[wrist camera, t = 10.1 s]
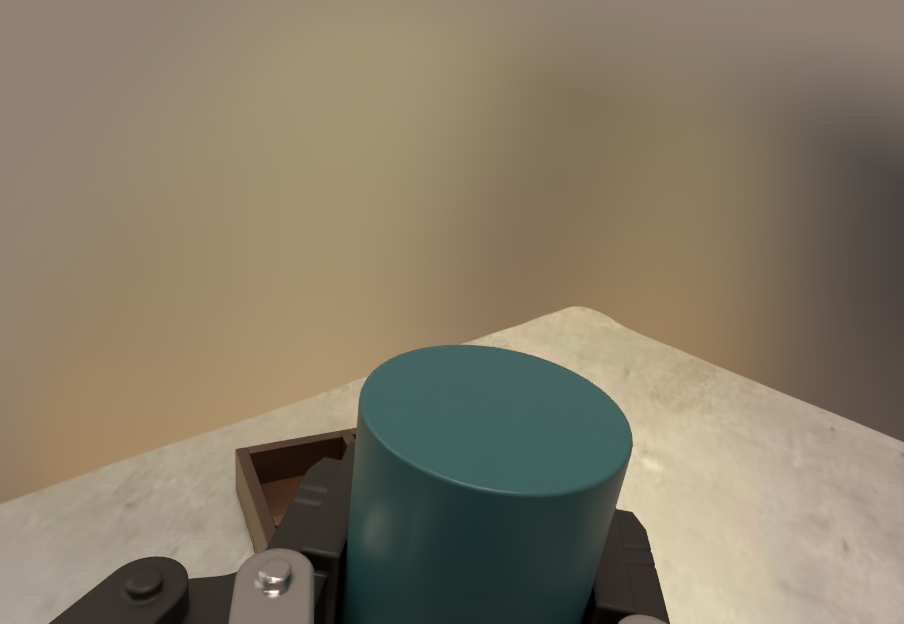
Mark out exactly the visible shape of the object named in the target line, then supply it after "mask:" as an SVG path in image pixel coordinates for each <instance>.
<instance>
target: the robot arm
mask: <svg viewBox="0 0 904 624" xmlns="http://www.w3.org/2000/svg"><path fill="white" fill-rule="evenodd" d="M355 442H356V440H353V439H352V440H351V441H350V443H349V445H348V447H347V449H346V451H345V454H344V456H343V458H342V460H337V459H332V458H326V457H324V458H323V459H321V460H320V461H319V462H317V463H316V464H315V465H313V466H312V467H311V468H310V469H308V471H307V473H306V475H305V476H304V478H303V480H302V482H301V484H300V487H299V489H298V490H297V491H296V493H295V495H294V497H293V500H292V502H291V503H290V505H289V507H288V508H287V510H286V512H285V514H284V516H283V518H282V520H281V522H280V523H279V525H278V527H277V529H276V531H275V533H274V535H273V537H272V539H271V540H270V542H269V544H268V546H267V548H266V550H265V551H263V552H260V553H257V554H255V555H254V556H252V557H250V558H249V559H248V560H246V561H245V562H244V563H243V564H242V566H241V567H240V568H239V570H238V572H235V573H233V574H229V575H224V576H216V577H205V578H193V579H188V574H187V571H186V569H185V567H184V566H183V565H182V564H181V563H179V562H178V561H176V560H173V559H171V558H166V557H147V558H142V559H138V560H135V561H133V562H130V563H128V564H126V565H124V566H122V567H121V568H119V569H118V570H116V571H115V572H114V573H112V574H111V575H110V576H109V577H107V578H106V579H105V580H103V581H102V582H101V583H100V584H98V585H97V586H96V587H95V588H93V589H92V590H91V591H90V592H88V593H87V594H86V595H84V596H83V597H82V598H81V599H79V600H78V601H77V602H76V603H74V604H73V605H72V606H71V607H69V608H68V609H67V610H65V611H64V612H63V613H62V614H60V615H59V616H58V617H57V618H55V619H54V620H53V621H52V622H50V623H49V624H340V619H341V607H342V595H343V584H344V572H345V560H346V548H347V537H348V525H349V513H350V501H351V489H352V478H353V466H354V454H355ZM654 566H655V563H654V559H653V555H652V553H651V548H650V544H649V540H648V536H647V532H646V529H645V528H644V527H643V526H642V524H641V523H640V522H639V520H638V519H637V518H636V516H635V515H634V514H633V512H629V511H623V510H618V509H616V508H615V511H614V515H613V518H612V522H611V525H610V528H609V532H608V535H607V539H606V542H605V546H604V549H603V553H602V556H601V559H600V563H599V566H598V570H597V573H596V577H595V580H594V584H593V587H592V590H591V594H590V597H589V601H588V604H587V608H586V611H585V615H584V618H583V621H582V624H670V622H669V618H668V614H667V610H666V606H665V602H664V598H663V594H662V590H661V587H660V583H659V579H658V575H657V571H656V568H655V567H654Z"/></svg>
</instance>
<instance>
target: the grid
mask: <svg viewBox="0 0 904 624" xmlns="http://www.w3.org/2000/svg"><path fill="white" fill-rule="evenodd" d="M356 431H357V428H352V429H347V430H341V431H335V432H330V433H324V434H319V435H313V436H307V437H302V438H296V439H290V440H285V441H279V442H273V443H268V444H262V445H256V446H251V447H248V448H247V447H245V448H239V449H236V450H235V454H236V490H237V494H238V497H239V500H240V503H241V507H242V510H243V513H244V516H245V520H246V523H247V526H248V529H249V533H250V536H251V539H252V543H253V546H254V549H255V552H256V554H257V553H260V552H263V551H265V550H266V548H267V546H268V544H269V542H270V540H271V539H272V537H273V535H274V533H275V531H276V529H277V527H278V525H279V523H280V522H281V520H282V518H283V516H284V514H285V512H286V510H287V508H288V507H289V505H290V503H291V502H292V500H293V497H294V495H295V493H296V491H297V490H298V489H299V487H300V484H301V482H302V480H303V478H304V476H305V475H306V473H307V471H308V469H310V468H311V467H312V466H313V465H315V464H316V463H317V462H319V461H320V460H321V459H323V458H324V457H326V458H332V459H337V460H342V458H343V456H344V454H345V451H346V449H347V447H348V445H349V443H350V441H351V440H352V439H353V440H356Z"/></svg>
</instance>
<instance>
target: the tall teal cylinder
mask: <svg viewBox="0 0 904 624" xmlns="http://www.w3.org/2000/svg"><path fill="white" fill-rule="evenodd" d="M632 447H633V441H632V432H631V429H630V426H629V423H628V421H627V419H626V417H625V415H624V413H623V412H622V411H621V409H620V408H619V406H618V405H617V404H616V403H615V402H614V401H613V400H612V399H611V398H610V397H609V396H608V395H607V394H606V393H605V392H603V391H602V390H601V389H600V388H599V387H597V386H596V385H594V384H593V383H591V382H590V381H589V380H587V379H585V378H584V377H582V376H580V375H578V374H577V373H575V372H573V371H571V370H569V369H567V368H564V367H562V366H560V365H557V364H555V363H553V362H550V361H547V360H544V359H541V358H539V357H535V356H532V355H528V354H525V353H521V352H517V351H512V350H507V349H501V348H495V347H487V346H477V345H445V346H435V347H427V348H422V349H417V350H413V351H410V352H406V353H403V354H400V355H398V356H396V357H394V358H392V359H389V360H388V361H386V362H384V363H383V364H381V365H380V366H379V367H377V368H376V369H375V370H374V371H373V372H372V373H371V374H370V375H369V377H368V378H367V379H366V381H365V383H364V385H363V387H362V389H361V393H360V397H359V407H358V419H357V431H356V442H355V454H354V466H353V478H352V489H351V501H350V513H349V525H348V537H347V548H346V560H345V572H344V584H343V595H342V607H341V619H340V624H582V621H583V618H584V615H585V611H586V608H587V604H588V601H589V597H590V594H591V590H592V587H593V584H594V580H595V577H596V573H597V570H598V566H599V563H600V559H601V556H602V553H603V549H604V546H605V542H606V539H607V535H608V532H609V528H610V525H611V522H612V518H613V515H614V511H615V508H616V504H617V501H618V498H619V494H620V491H621V487H622V484H623V480H624V477H625V473H626V470H627V467H628V463H629V460H630V456H631V452H632Z"/></svg>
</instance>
